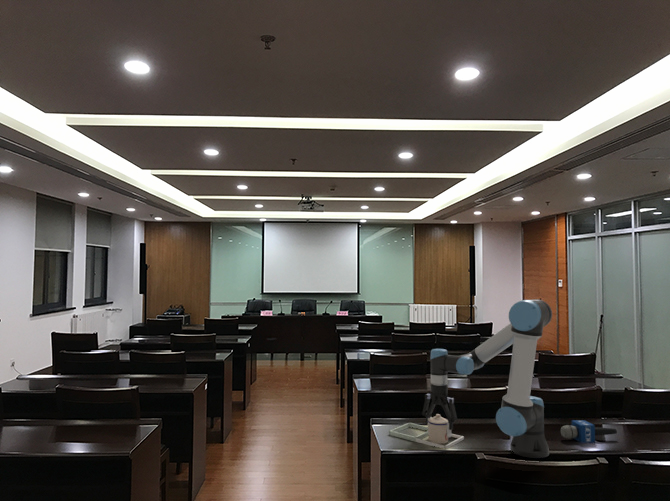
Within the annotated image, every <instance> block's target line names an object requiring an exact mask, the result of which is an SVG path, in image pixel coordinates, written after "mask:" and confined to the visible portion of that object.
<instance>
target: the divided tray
mask: <svg viewBox="0 0 670 501" xmlns="http://www.w3.org/2000/svg"><path fill="white" fill-rule="evenodd" d="M412 427H413V429H416V428H418V429H417V430H420V429H422V431H425V430H427V431H425V432H423V433H421V434H418V435H416V436H413V435H409V434H405V433H402V432H401V431H403V430H405V429H408V428H412ZM388 436H392V437H396V438H400V439H404V440H408V441H412V442H415V443H419V444H424V445H426V446H430V447H434V446H435V447H434V448H438V447H440V448H439V449H442V448H445V449H444V450H447V449H449V448H451V447H452V446H454V445H456V444H458V443H460V442H462V441H463V440H465V436H463V435H459V434H455V433H452V436H451V437H450V438H453V439H454V438H455V440H453V441H451V442H450V443H448V444H447V443H446V445H445V444H436V443H432V442H430V441H429V440H424V438H427V437H429V433H428V426H425V425H420V424H418V423H413V422H408V423H407V422H406V423H405V424H402V425H400V426H398V427H395V428H392V429H390V430H389V431H388ZM446 448H447V449H446Z"/></svg>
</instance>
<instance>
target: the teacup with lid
mask: <svg viewBox="0 0 670 501" xmlns="http://www.w3.org/2000/svg"><path fill="white" fill-rule="evenodd" d="M447 422H449V421H448V419H447V418H444V417H442V416H441V414H439V413H436V414H435V416H433V417H432V418H429V420H428V425H427V427H428V429H429V436H428V442H432V443H436V444H440V445H445V444H447V443H448V442H449V438H448V437H447Z"/></svg>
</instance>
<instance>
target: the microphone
mask: <svg viewBox="0 0 670 501" xmlns="http://www.w3.org/2000/svg"><path fill="white" fill-rule="evenodd" d="M617 433H618V432H617V429H616V428H612V427H596V426H595V424H593V423H591V422H589V421H587V420H585V419H584V420H583V419H581V420H577V419H576V420H575V419H574V420H571V424H566V425H563V426H561V428H560V434H561V436H562V438H565V439H569V440H571V439H574V440H575V441H578V442H579V443H580V444H591V443H592V444H593V443H594V444H595V443H596V437H597V436H607V435H608V436H609V435H616V434H617Z"/></svg>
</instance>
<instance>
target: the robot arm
mask: <svg viewBox="0 0 670 501" xmlns="http://www.w3.org/2000/svg"><path fill="white" fill-rule="evenodd" d="M552 318H553V311H552V307H551V306H550V305H549V304H548V303H547V302H546V301H544V300H542V299H523V300H522V299H521V300H519V301H517V302H515V303H514V304H513V305H512V306H511V307H510V309H509V311H508V321H509V324H508V325H506V326H505V327H504V328H502V329H501V330H499V331H497V332H496V333H495V334H493V335H492V336H490V337H489V338H488V339H486V340H485V341H484V342H482V343H481V344H480V345H478V346H477V347H476V348H475V349H473V350H471V351H470V352H467V353H465V354H461V355H452V354H449V353H448V350H447V349H444V348H432V349H431V351H430V358H429V359H430V360H429V361H430V383H431V384H430V393H426V394H424V402H423V408H422V413H421V415H422V416H424V417H425V423H426V425H427V426H428V420H429V418H433V417H432V413H433V412H434V409H435V407H436V406H441V408H442V409H443V412H444V414H445V416H446V419H447V420H448V422H447V437H448V439H449V438H452V437H451V436H452V434H453V433H452V430H453V429H454V423H455V422H456V421H458V416H457V411H456V406H455V398H454V397H449V395H448V387H449V386H448V373H453V374H459V375H463V376H464V375H471V374H472V373H473V372H474V371H475V370H479V369H481V368H483V367H484V365H485V364H486V363H488V362H489V361H490V360H491V359H493V358H494V357H496V356H497V355H499V354H500V353H501V352H503V351H505V350H506V349H507V348H509V347H510V346H512V350H511V351H512V352H511V362H510V368H509V377H508V384H507V391H506V392H507V393H506V394H505V395H503V396H502V400H501V407H500V408H499V409H498V410H497V411H496V414H495V422H496V425H497V426H498V427H499V429H500V431H502V433H504V434H505V435H507V436H509V437H512V438H511V441H510V445H509V446H510V447H509V448H510V449H511V450H510V452H512V451H513V452H514V453H513V452H512V453H513V454H515V455H518V456H520V457H524V458H530V459H543V458H547V457H548V456H549V455H550V450H549V445H548V443H547V439H546V437H545V413H544V410H545V409H544V408H545V405H544V401H543V399H542V398H541V397H537V396H532V395H531V390H532V384H533V376H534V375H533V374H534V368H535V360H536V353H537V347H538V345H537V344H538V340H539V339H540V338H542V337H543V331H544V327H546V326H547V325H549V324H550V322H551V321H552ZM431 400H432V401H431ZM430 401H431V403H430ZM428 433H429V429H428Z"/></svg>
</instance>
